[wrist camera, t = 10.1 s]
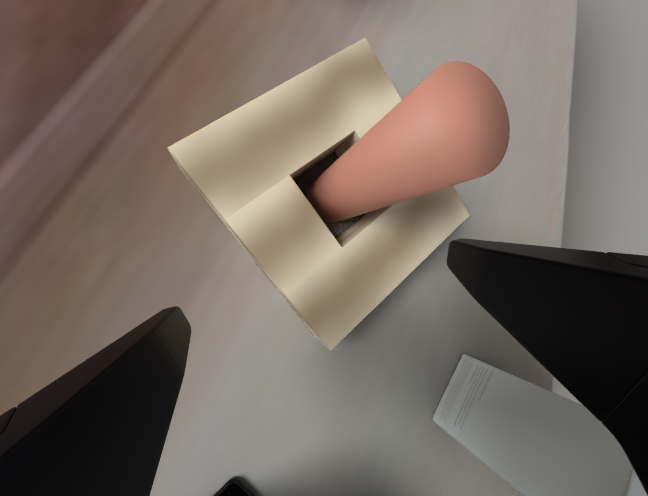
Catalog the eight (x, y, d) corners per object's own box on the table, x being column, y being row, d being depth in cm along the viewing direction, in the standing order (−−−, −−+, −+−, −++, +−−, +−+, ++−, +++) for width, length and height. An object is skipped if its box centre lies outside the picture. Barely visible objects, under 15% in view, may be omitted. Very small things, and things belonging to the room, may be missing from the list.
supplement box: (428, 419, 25) (605, 568, 13) (462, 350, 27) (647, 428, 15) (476, 449, 27) (668, 603, 15) (505, 383, 29) (699, 475, 17)
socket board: (435, 220, 26) (469, 215, 22) (313, 334, 22) (330, 351, 18) (343, 73, 23) (365, 37, 19) (180, 169, 19) (167, 147, 15)
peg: (356, 215, 23) (521, 161, 10) (315, 230, 22) (442, 191, 9) (341, 171, 23) (491, 54, 9) (299, 183, 21) (404, 69, 8)
